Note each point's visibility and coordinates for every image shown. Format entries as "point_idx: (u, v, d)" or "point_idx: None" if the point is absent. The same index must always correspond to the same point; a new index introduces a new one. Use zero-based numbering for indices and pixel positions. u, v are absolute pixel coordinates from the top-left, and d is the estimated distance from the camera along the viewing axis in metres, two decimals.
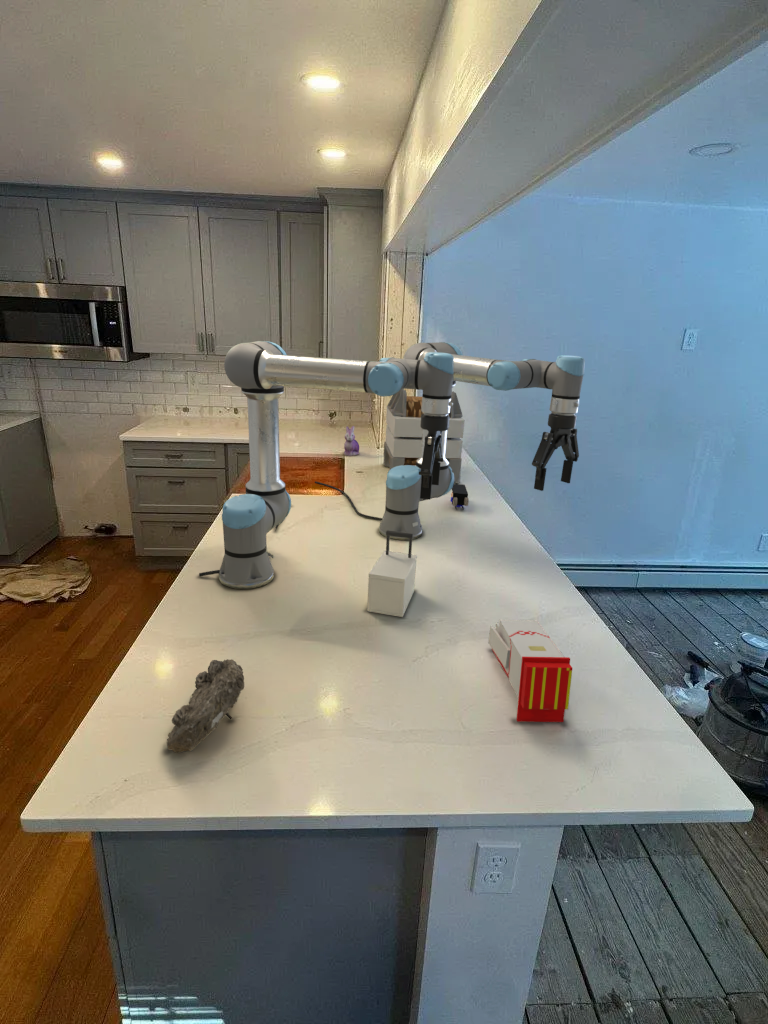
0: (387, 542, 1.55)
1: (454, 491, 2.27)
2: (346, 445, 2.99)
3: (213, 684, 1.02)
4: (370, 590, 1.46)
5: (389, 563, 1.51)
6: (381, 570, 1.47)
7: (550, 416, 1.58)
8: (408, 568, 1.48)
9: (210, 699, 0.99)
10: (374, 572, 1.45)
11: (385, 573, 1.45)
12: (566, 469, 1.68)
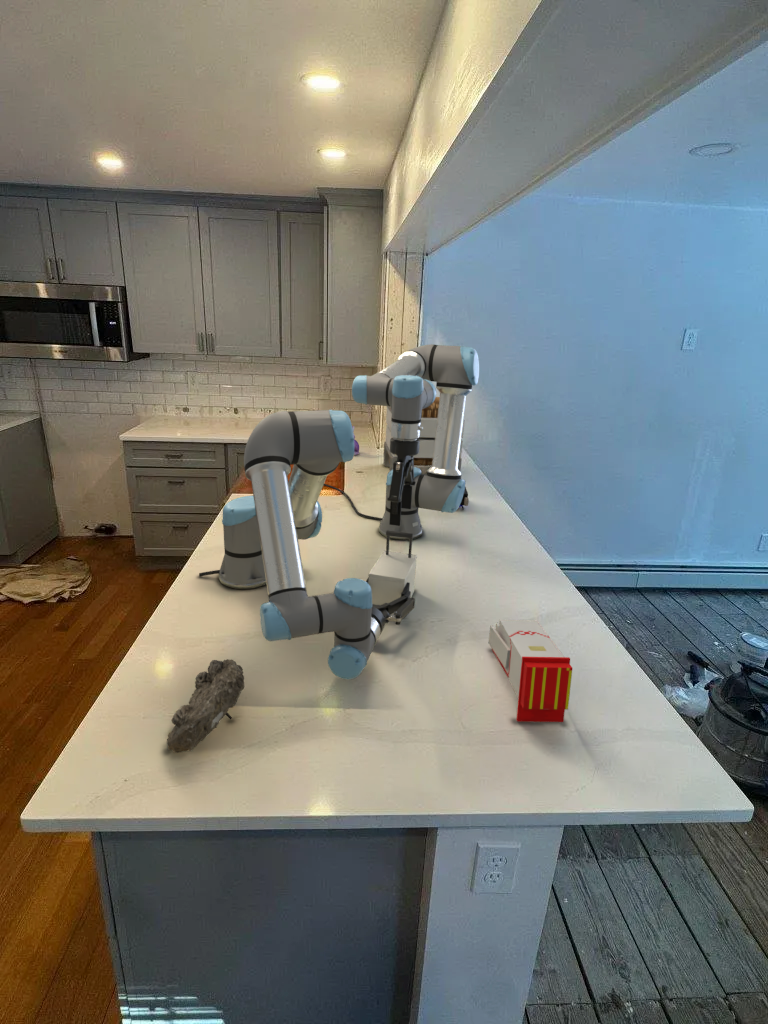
0: (387, 542, 1.55)
1: None
2: None
3: (213, 684, 1.02)
4: None
5: (389, 563, 1.51)
6: (381, 569, 1.47)
7: (395, 443, 1.42)
8: (408, 568, 1.48)
9: (210, 699, 0.99)
10: (374, 572, 1.45)
11: (385, 573, 1.45)
12: (406, 495, 1.56)
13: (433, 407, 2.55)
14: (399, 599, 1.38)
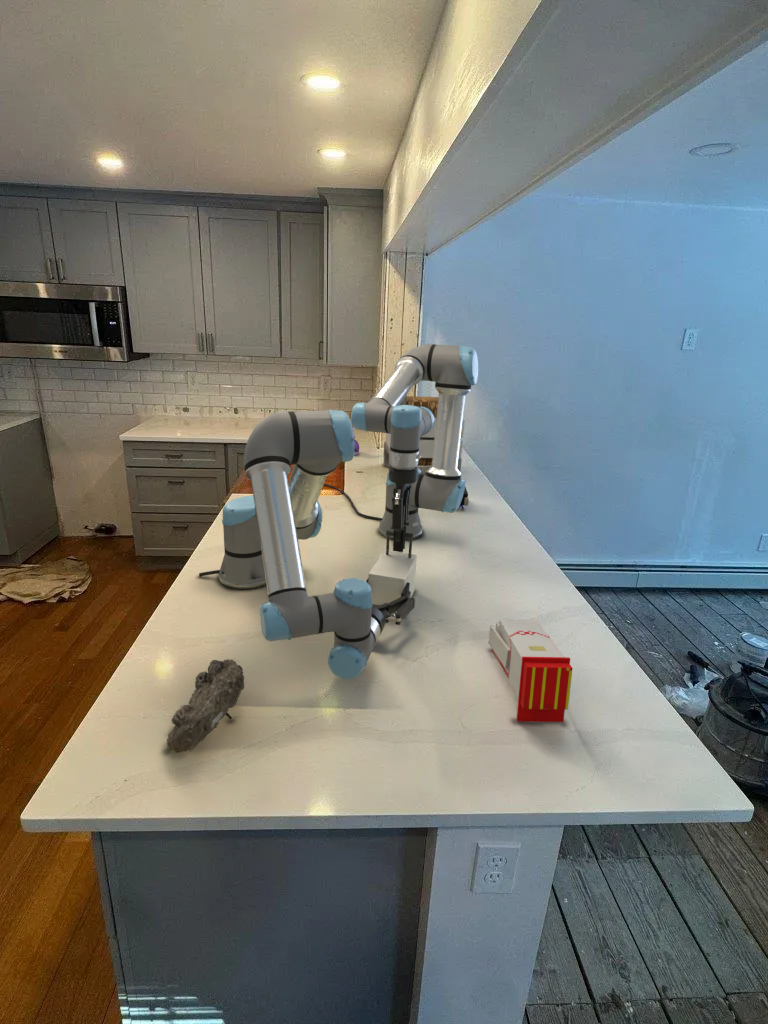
0: (387, 542, 1.55)
1: None
2: None
3: (213, 684, 1.02)
4: None
5: (389, 563, 1.51)
6: (381, 570, 1.47)
7: (393, 472, 1.45)
8: (408, 568, 1.48)
9: (210, 699, 0.99)
10: (374, 572, 1.45)
11: (385, 573, 1.45)
12: None
13: (433, 407, 2.55)
14: (399, 599, 1.38)
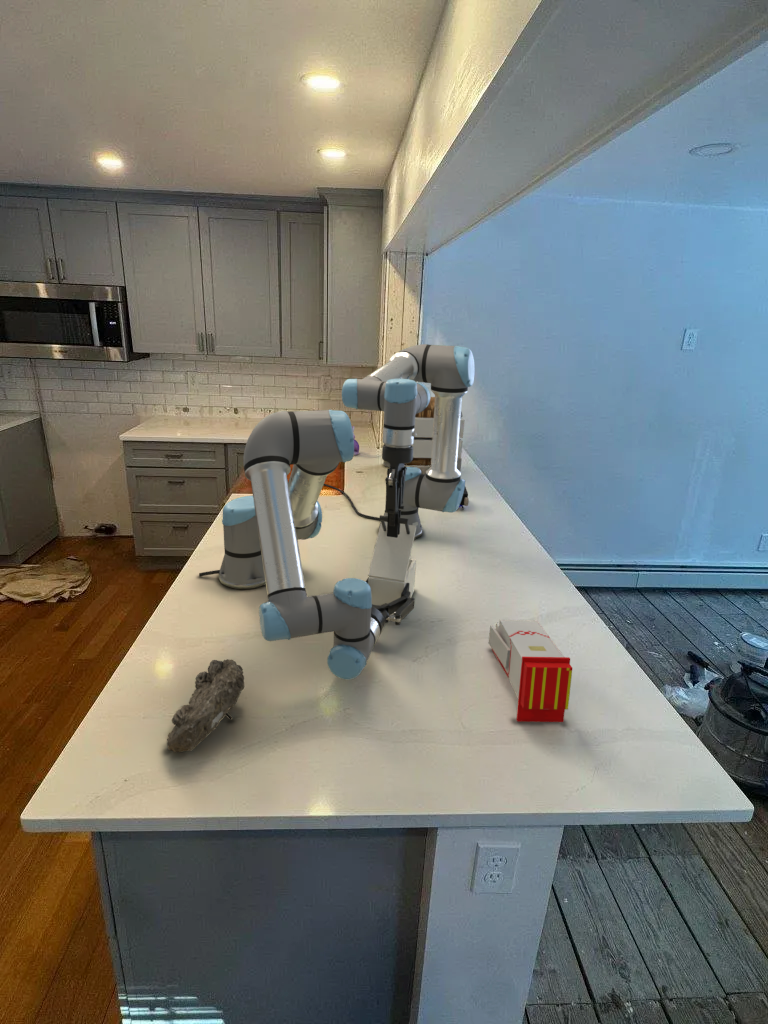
0: (382, 524, 1.47)
1: None
2: None
3: (213, 684, 1.02)
4: None
5: (387, 550, 1.47)
6: (380, 565, 1.45)
7: (387, 450, 1.35)
8: (407, 557, 1.45)
9: (210, 699, 0.99)
10: (373, 571, 1.44)
11: (384, 571, 1.44)
12: None
13: (433, 407, 2.55)
14: (399, 599, 1.37)
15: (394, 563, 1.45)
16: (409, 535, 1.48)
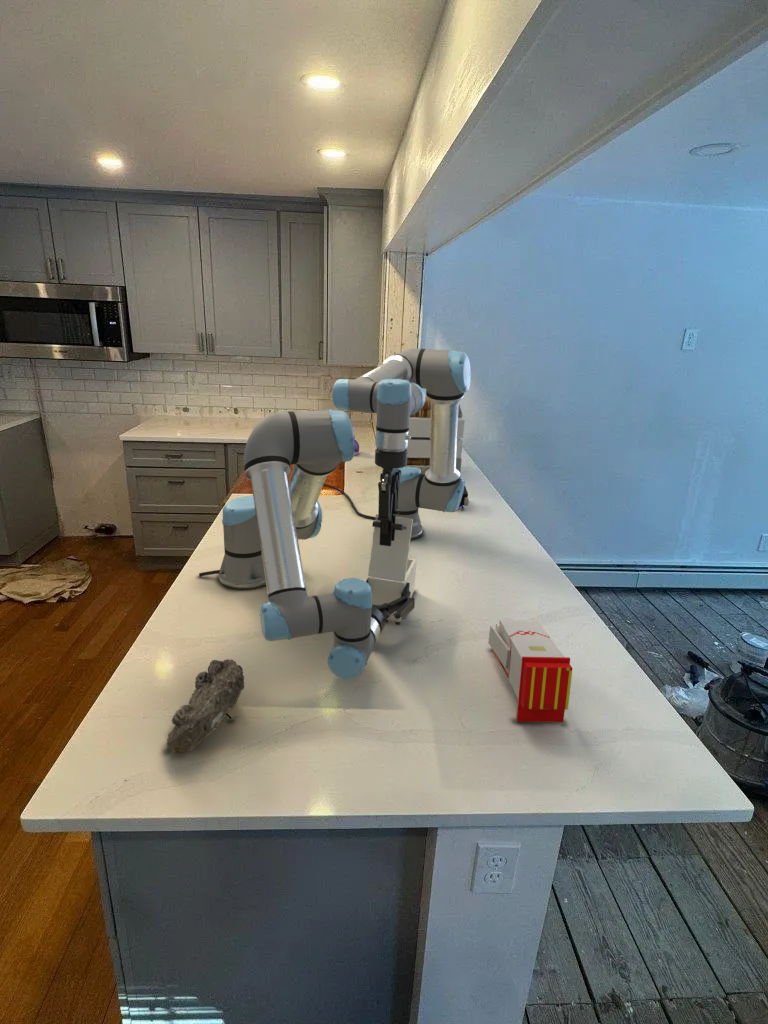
0: None
1: None
2: None
3: (213, 684, 1.02)
4: None
5: (385, 547, 1.43)
6: (379, 565, 1.44)
7: (380, 454, 1.28)
8: (405, 555, 1.42)
9: (210, 699, 0.99)
10: (373, 571, 1.44)
11: (383, 571, 1.43)
12: None
13: None
14: (399, 599, 1.37)
15: (393, 562, 1.43)
16: (406, 530, 1.43)
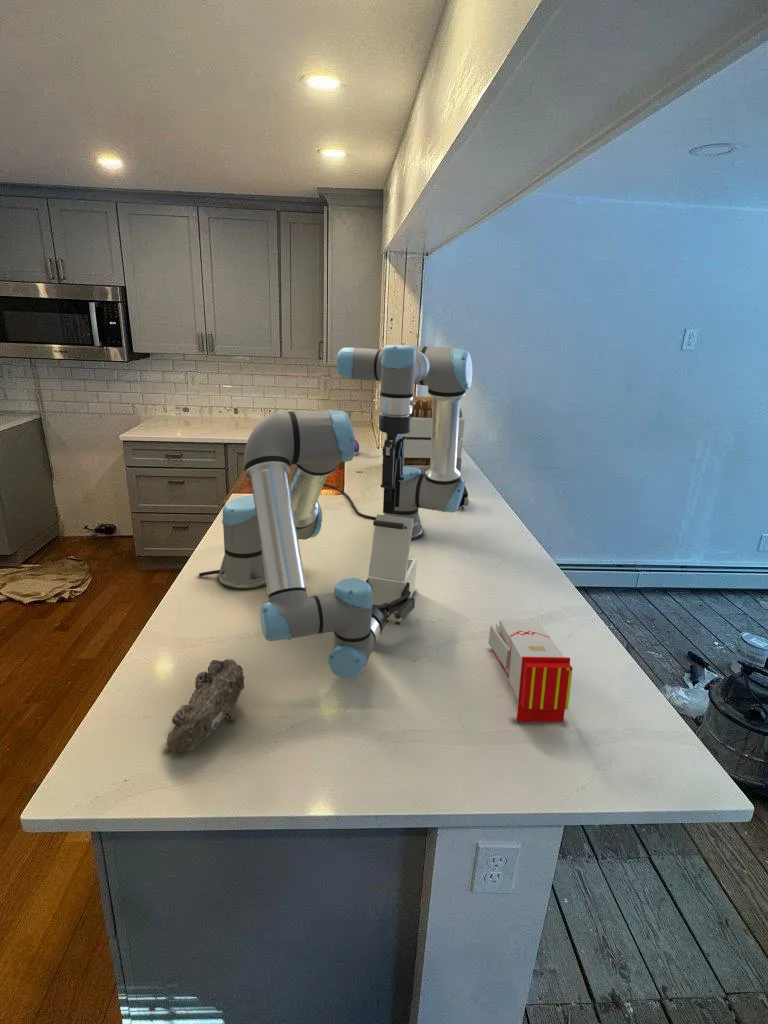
0: None
1: None
2: None
3: (213, 684, 1.02)
4: None
5: (385, 547, 1.44)
6: (379, 564, 1.44)
7: (384, 420, 1.28)
8: (406, 555, 1.42)
9: (210, 699, 0.99)
10: (373, 571, 1.44)
11: (384, 571, 1.43)
12: None
13: None
14: (399, 599, 1.38)
15: (393, 562, 1.43)
16: (406, 530, 1.43)
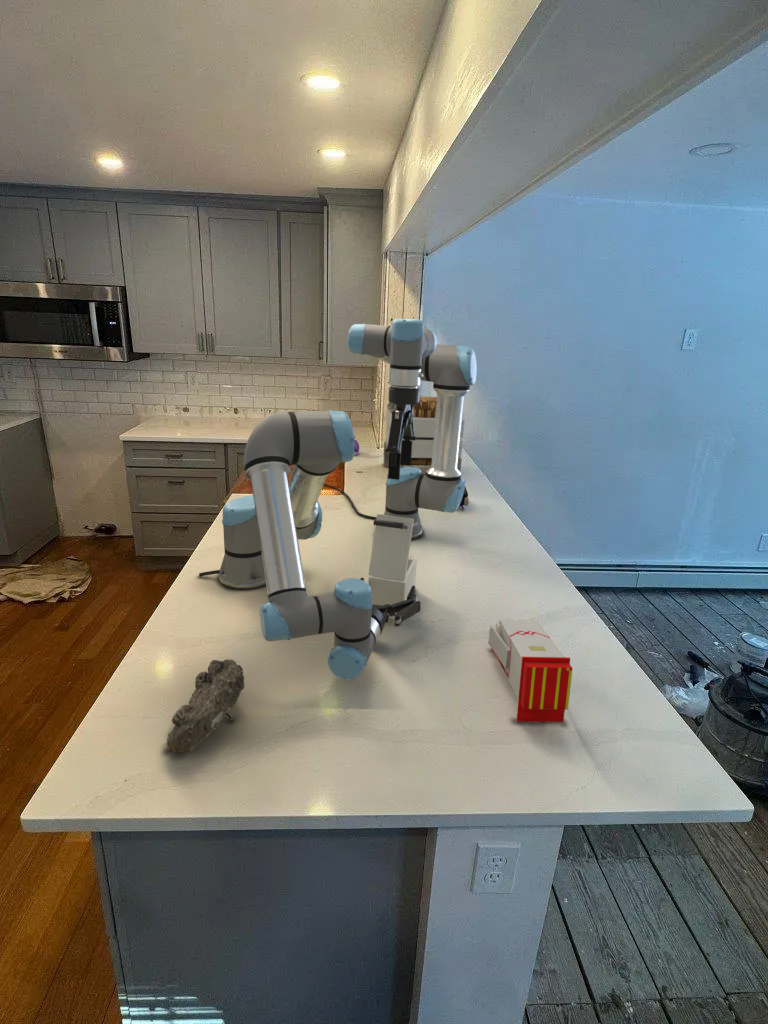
0: None
1: None
2: None
3: (213, 684, 1.02)
4: None
5: (386, 547, 1.44)
6: (379, 564, 1.44)
7: (394, 391, 1.34)
8: (406, 555, 1.43)
9: (210, 699, 0.99)
10: (373, 571, 1.44)
11: (384, 571, 1.43)
12: (406, 450, 1.48)
13: (433, 407, 2.55)
14: (403, 602, 1.36)
15: (393, 562, 1.43)
16: (407, 530, 1.43)
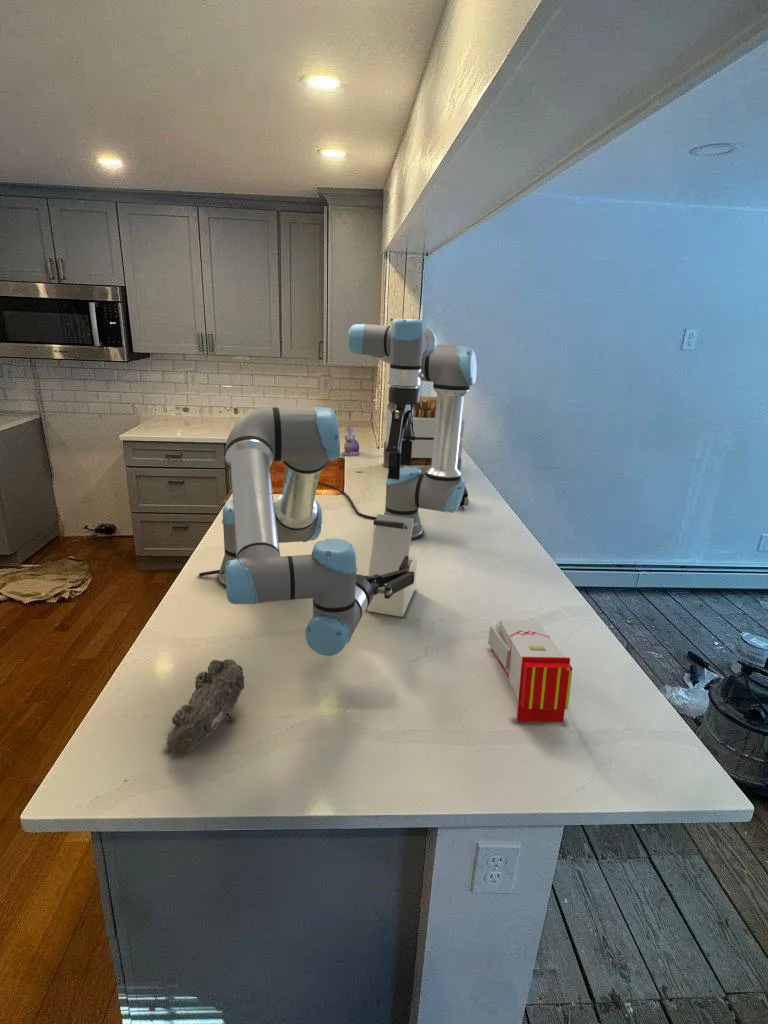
0: None
1: None
2: (346, 445, 2.99)
3: (213, 684, 1.02)
4: None
5: (386, 547, 1.44)
6: (379, 564, 1.44)
7: (394, 391, 1.34)
8: (406, 555, 1.43)
9: (210, 699, 0.99)
10: (373, 571, 1.44)
11: (384, 571, 1.43)
12: (406, 450, 1.48)
13: (433, 407, 2.55)
14: (395, 572, 1.21)
15: (393, 562, 1.43)
16: (407, 530, 1.43)
